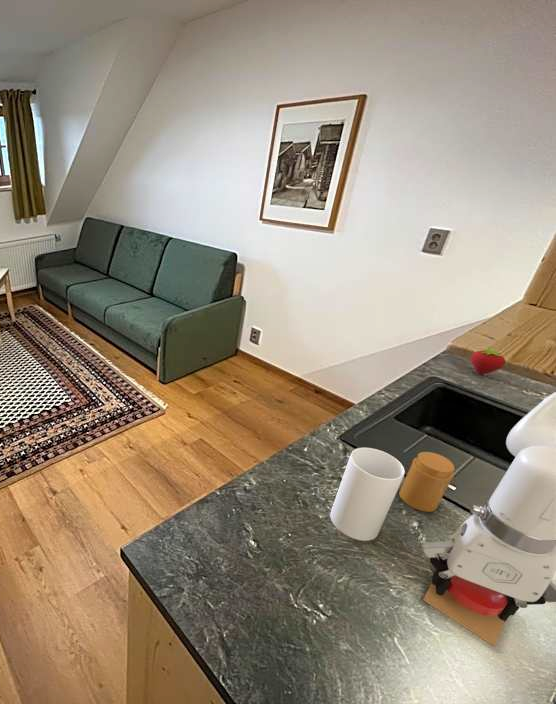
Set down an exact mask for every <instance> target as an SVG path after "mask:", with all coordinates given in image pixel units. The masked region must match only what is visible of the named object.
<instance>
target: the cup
mask: <svg viewBox="0 0 556 704" xmlns="http://www.w3.org/2000/svg"><path fill="white" fill-rule="evenodd" d="M405 473H406V472H405V467H404V466H403V464H402V463H401V462H400V461H399V460H398V459H397V458H396V457H395V456H392V455H391V454H389V453H387V452H386V451H383V450H379V449H377V448H372V447H357V448H355V449H353V450H352V451H351V453H350V455H349V458H348V460H347V463H346V466H345V469H344V472H343V475H342V478H341V481H340V484H339V487H338V489H337V493H336V496H335V498H334V501H333V504H332V507H331V510H330V514H329V518H330V521H331V522H332V525H334V527H335V528H336V529H337V530H338V531H339V532H341V533H342V534H343V535H345V536H347V537H349V538H351V539H353V540H357V541H364V542H368V541H369V542H370V541H373V540H374V539H376V538H377V537H378V535H379V534H380V531H381V529H382V526H383V524H384V522H385V519H386V517H387V515H388V513H389V511H390V509H391V506H392V503H393V502H394V499H395V497H396V496H397V495H396V494H397V492H398V490H399V489H400V487H401V486H400V485H402V481H403V480H404V476H405Z"/></svg>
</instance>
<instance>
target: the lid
mask: <svg viewBox="0 0 556 704" xmlns="http://www.w3.org/2000/svg"><path fill="white" fill-rule="evenodd" d="M450 579H451V583H450V585H449V586H448V588H447V590H448V592H449V593H450V594H451V595H452V597H453V598H454V599H455V600H457V601H458V602H459V603H460V604H462V605H463V606H464V607H466V608H468V609H469V610H471V611H473V612H476V613H478V614H481V615H484V616H485V615H486V616H496V615H497V616H498V615H499V614H500V613H501V612H502V611H503V609H504V608H505V607H506V605H507V603H508V601H507V597H506V595H505V594H502V593H500V592H497V591H494V590H491V589H489V588H486V587H483V586H481V585H478V584H476V583H473V582H470V581H468V580H465V579H463V578H460V577H458V576H453V577H450Z"/></svg>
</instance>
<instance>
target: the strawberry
mask: <svg viewBox="0 0 556 704" xmlns="http://www.w3.org/2000/svg"><path fill="white" fill-rule="evenodd" d="M492 348H493V346H492V347H490V348H489V349H487V348H486V349H484V348H480V350H477V351H475V352H473V353H472V354H471V356H470V362H471V364H472V366H473V368H474V370H475V371H476V373H477V374H478V375H480V376H484V375H487V374H490V373H494V372H496V371H498V370H500V369H502V368H503V367H504V366H505V365H506V359H505V357H504V356H503V355H502V353H501V352H499V351H498V350H493V349H492Z"/></svg>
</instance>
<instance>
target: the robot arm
mask: <svg viewBox="0 0 556 704" xmlns="http://www.w3.org/2000/svg"><path fill="white" fill-rule="evenodd" d="M505 445H506V449H507V450H508V451H509V453H510V454H511V455H512V456H514V459H513V461H512V462H511V464H510V465H509V467H508V469H507V470H506V472H505V473H504V475H503V477H502V478H501V480H500V482H499V483H498V485H497V486H496V487H495V489H494V491H493V492H492V495H491V496H490V498H489V499H488V500H486V501H485V503H484V504H483V505H481V504H479V505H476V504H470V507H469V512H470V514H472V515H471V516H469V517H467V519H466V520H465V521H463V522H462V524H460V526H458V528H457V529H456V530H455V532H454V533H453V534H452V536H451V537H450V539H449V540H444V541H430V542H428V541H427V542H422V544H421V547H422V552H423V554H424V555H425V556H426V558H427V559H428V560H429V562H430V565H432V567H433V568H434V569H435V571H434V573H433V574H432V577H431V583H432V584H433V585H435V587H436V594H438V595H440V596H441V595H443V594H444V593H445V591H446V590H447V588H448V586H449V585H450V583H451V579H450V577H453V576H458V577H460V578H463V579H465V580H468V581H470V582H473V583H476V584H478V585H481V586H483V587H486V588H489V589H491V590H494V591H497V592H500V593H502V594H505V595H506V597H507V601H508V603H507V605H506V607H505V608H504V609H503V611H502V612H501V613H500V614H499V615H498V618H500V619H501V620H503V621H505V622H507V620H508V619H509V618H510V617H511V616H514V615H515V614H517V611H518V610H519V609H527V608H528V606H529V605H530V606H531V605H544V604H546V603H556V584H555V583H554V582H553V581H552V580H553V578H554V576H555V573H556V391H555V392H553V393H551V394H550V395H548V396H546V397H545V398H544V399H543V400H542V401H541V402H539V403H538V404H537V405H536V406H535V407H534V408H532V409H531V410H530V411H529V412H528V413H526V414H525V415H524V416H523V417H522V418H521V419H520V420H519V421H518V422H517V423H516V424H514V426H513V427H512V428H511V429H510V431H509V432H508V434H507V436H506V440H505ZM440 554H448V555H446V556H444V557H441V556H440Z"/></svg>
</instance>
